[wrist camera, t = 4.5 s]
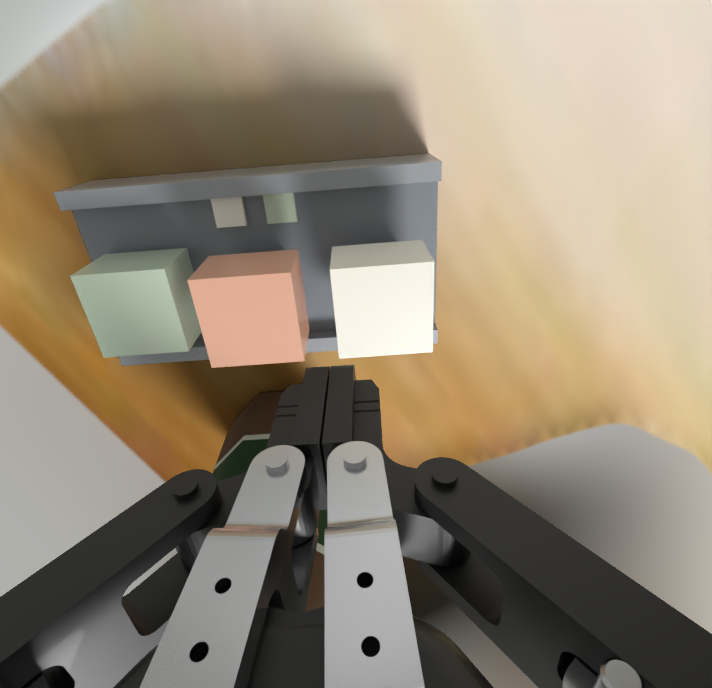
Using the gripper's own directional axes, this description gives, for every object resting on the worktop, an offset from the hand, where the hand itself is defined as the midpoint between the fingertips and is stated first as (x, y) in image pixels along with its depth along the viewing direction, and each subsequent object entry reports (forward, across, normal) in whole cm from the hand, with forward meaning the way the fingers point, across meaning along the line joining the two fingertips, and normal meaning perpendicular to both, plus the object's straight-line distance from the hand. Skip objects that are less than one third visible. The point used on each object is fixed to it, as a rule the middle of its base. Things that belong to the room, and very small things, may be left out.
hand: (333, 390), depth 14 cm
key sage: (+9, +9, 0) cm, 13 cm away
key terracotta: (+8, +4, 0) cm, 8 cm away
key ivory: (+8, -2, 0) cm, 8 cm away
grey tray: (+12, +4, -1) cm, 13 cm away
